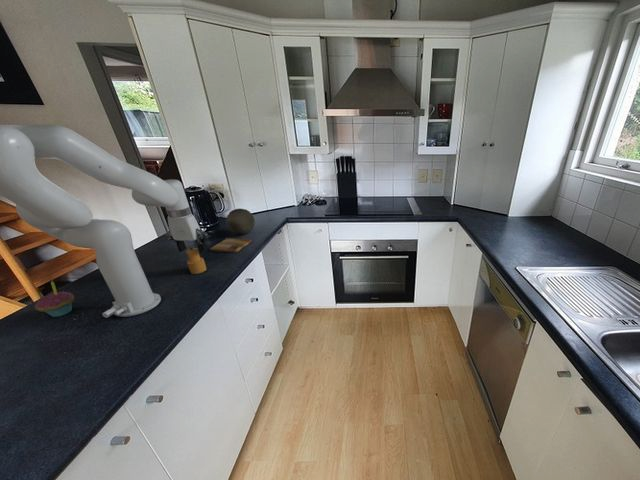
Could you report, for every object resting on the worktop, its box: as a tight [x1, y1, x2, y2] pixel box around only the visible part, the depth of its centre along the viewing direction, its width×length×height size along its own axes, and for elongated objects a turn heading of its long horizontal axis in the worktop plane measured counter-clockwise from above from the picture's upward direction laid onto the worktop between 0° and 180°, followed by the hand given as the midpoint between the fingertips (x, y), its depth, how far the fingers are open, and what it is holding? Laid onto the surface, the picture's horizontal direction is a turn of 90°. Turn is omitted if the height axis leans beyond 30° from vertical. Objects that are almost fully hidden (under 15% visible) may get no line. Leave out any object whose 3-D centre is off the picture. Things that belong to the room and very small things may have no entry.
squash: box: [185, 246, 207, 275], centre depth 116 cm, size 6×6×11 cm
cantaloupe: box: [226, 208, 256, 236], centre depth 153 cm, size 14×14×15 cm
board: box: [209, 237, 252, 253], centre depth 142 cm, size 14×14×1 cm
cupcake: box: [34, 279, 75, 318], centre depth 89 cm, size 9×8×12 cm
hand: (193, 251), depth 115 cm, fingers open, 9 cm apart
